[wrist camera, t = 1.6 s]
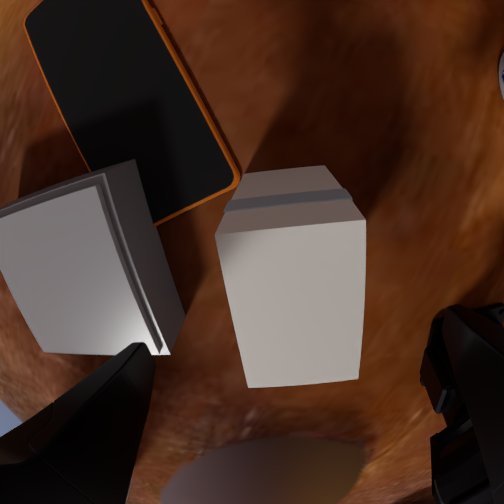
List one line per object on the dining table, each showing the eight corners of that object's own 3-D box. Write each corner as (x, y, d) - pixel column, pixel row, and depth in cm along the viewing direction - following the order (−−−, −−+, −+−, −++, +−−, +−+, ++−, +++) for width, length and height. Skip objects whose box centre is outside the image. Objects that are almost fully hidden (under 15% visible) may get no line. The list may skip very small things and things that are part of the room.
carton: (325, 164, 15) (367, 218, 8) (332, 272, 18) (359, 379, 11) (242, 172, 16) (212, 233, 9) (259, 279, 18) (247, 388, 11)
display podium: (137, 157, 16) (100, 174, 12) (185, 316, 20) (168, 359, 16) (17, 198, 17) (-23, 220, 14) (68, 322, 21) (42, 356, 18)
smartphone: (133, 236, 18) (127, 242, 17) (28, 21, 12) (19, 20, 11) (247, 180, 16) (246, 184, 15) (120, -54, 10) (114, -59, 10)
